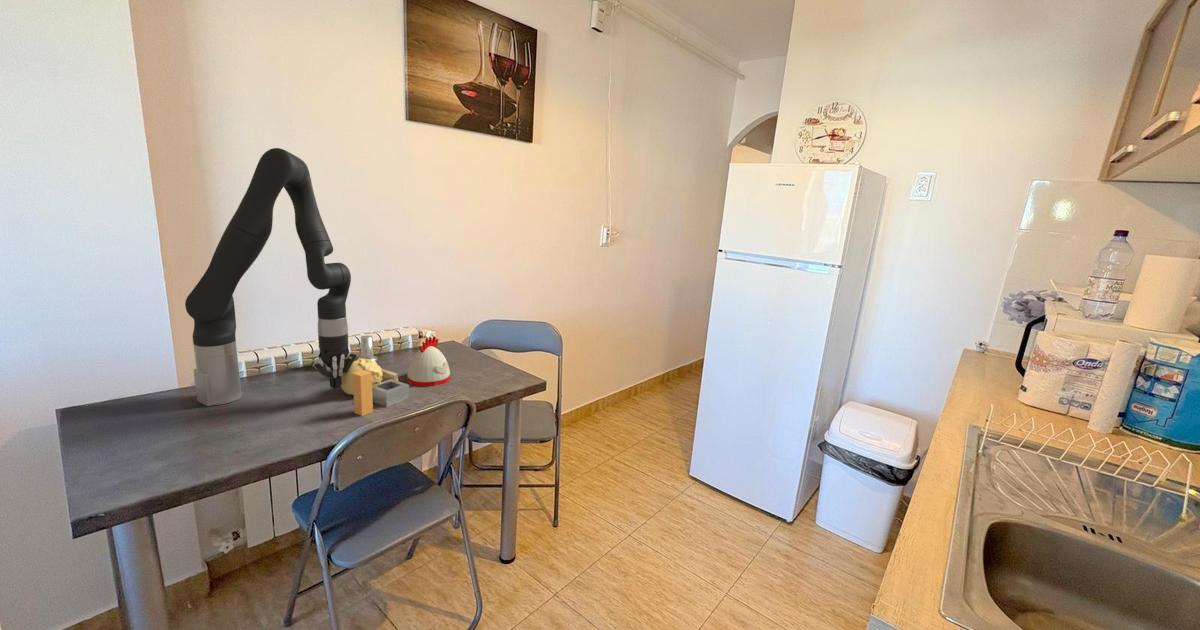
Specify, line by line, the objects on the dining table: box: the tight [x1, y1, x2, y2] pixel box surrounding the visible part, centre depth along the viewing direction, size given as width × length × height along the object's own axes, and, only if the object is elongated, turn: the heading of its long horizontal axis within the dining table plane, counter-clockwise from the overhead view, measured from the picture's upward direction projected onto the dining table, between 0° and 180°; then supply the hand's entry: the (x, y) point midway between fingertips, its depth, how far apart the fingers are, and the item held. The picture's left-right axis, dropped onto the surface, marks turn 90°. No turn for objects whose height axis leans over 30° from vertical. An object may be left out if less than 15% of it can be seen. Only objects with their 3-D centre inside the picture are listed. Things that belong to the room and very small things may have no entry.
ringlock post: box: [358, 335, 378, 363], centre depth 157 cm, size 6×6×14 cm
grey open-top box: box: [372, 379, 410, 408], centre depth 141 cm, size 8×8×4 cm
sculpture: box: [340, 357, 383, 396], centre depth 145 cm, size 12×12×11 cm
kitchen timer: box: [406, 335, 451, 387], centre depth 159 cm, size 14×14×15 cm
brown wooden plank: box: [380, 367, 399, 382], centre depth 152 cm, size 2×12×5 cm, turn 62°
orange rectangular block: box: [353, 370, 374, 417], centre depth 131 cm, size 3×3×12 cm
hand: (336, 387), depth 138 cm, fingers closed
